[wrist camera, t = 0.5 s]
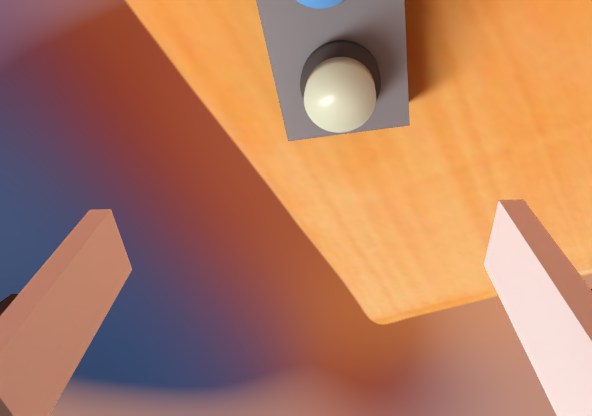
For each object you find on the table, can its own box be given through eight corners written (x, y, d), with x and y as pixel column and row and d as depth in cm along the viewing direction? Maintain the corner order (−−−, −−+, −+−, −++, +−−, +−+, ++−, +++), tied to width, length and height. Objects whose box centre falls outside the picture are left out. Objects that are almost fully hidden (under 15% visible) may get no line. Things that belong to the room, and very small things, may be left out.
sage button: (371, 51, 29) (372, 58, 28) (377, 118, 32) (379, 127, 30) (299, 63, 30) (297, 70, 28) (311, 127, 33) (310, 136, 31)
